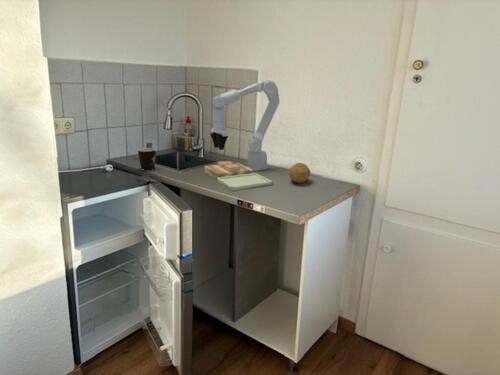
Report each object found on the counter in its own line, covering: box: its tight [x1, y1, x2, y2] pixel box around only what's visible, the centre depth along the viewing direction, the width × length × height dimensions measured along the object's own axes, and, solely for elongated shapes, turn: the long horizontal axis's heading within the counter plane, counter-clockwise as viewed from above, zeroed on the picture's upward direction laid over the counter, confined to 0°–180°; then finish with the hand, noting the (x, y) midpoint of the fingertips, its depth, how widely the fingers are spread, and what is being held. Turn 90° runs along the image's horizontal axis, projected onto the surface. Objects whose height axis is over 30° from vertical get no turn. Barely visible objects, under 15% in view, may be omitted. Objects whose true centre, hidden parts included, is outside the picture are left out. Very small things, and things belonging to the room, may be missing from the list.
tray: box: [216, 172, 274, 192], centre depth 170 cm, size 20×16×2 cm
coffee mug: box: [137, 147, 157, 171], centre depth 188 cm, size 12×9×10 cm
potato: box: [288, 162, 311, 184], centre depth 172 cm, size 10×14×8 cm
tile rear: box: [217, 160, 235, 168], centre depth 186 cm, size 6×6×2 cm
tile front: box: [224, 164, 241, 172], centre depth 180 cm, size 6×6×2 cm
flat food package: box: [204, 162, 254, 180], centre depth 184 cm, size 18×16×3 cm
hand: (219, 148), depth 191 cm, fingers open, 5 cm apart
